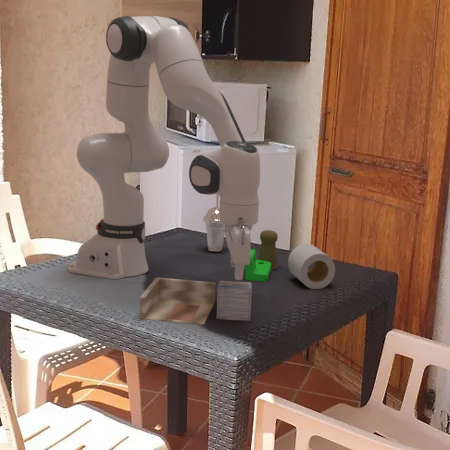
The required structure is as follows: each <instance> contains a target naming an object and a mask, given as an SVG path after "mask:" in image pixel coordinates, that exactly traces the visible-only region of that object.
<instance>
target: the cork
mask: <svg viewBox="0 0 450 450" xmlns="http://www.w3.org/2000/svg"><path fill="white" fill-rule="evenodd" d="M278 237H279V236H278V233H277V232H276V231H274V230H270V229H269V230H262V231H261V232H260V234H259V239H260V241H261V243H260V247H259V249H260V250H259V253H258V258H257V260H262V261H268V262H270V263H271V271H272V270H276V269H277V268H278V262H277V261H278V259H277V247H276V242H277V241H278V239H279V238H278Z"/></svg>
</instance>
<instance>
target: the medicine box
mask: <svg viewBox="0 0 450 450" xmlns="http://www.w3.org/2000/svg"><path fill="white" fill-rule="evenodd" d="M252 289H253V287H252V282H250V281H237V280H235V281H234V280H233V281H231V280H219V281H218V284H217V296H216V297H217V298H216V299H217V300H216V301H217V302H216V319H217V320H228V321H248V322H250V321H251V312H252V311H251V309H252V308H251V307H252Z"/></svg>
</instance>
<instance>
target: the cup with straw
mask: <svg viewBox="0 0 450 450" xmlns="http://www.w3.org/2000/svg"><path fill="white" fill-rule="evenodd" d="M215 201H216V202H215V203H216V204H215V206H214V207H211V208H210V209H208V210H207V212H206V214H205V216H203V218H202V221H203V222H205V223H204V224H205V229H206V239H207V247H208V248H207V250H208V251H210V252H221V251H222V250H223V246H224V242H225V228H224V225H225V224H224V223H221V222H220V221H219V211H220V207H219V203H220V195H219V194H216V200H215Z"/></svg>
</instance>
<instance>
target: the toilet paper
mask: <svg viewBox="0 0 450 450" xmlns="http://www.w3.org/2000/svg"><path fill="white" fill-rule="evenodd" d="M312 264H313V265H312ZM311 265H312V267H311V268H309V267H310V266H311ZM287 266H288V270H289V272H291V274H292V275H293V276H295V278H296V279H298V280H299V281H300V282H301V283H302V284H303V285H304V286H306V287H307V288H309V289H311V290H317V289H319V290H320V289H324V288H326V287H328V285H329V284H330V283H331V282H332V281H333V279H334V277H335V273H336V265H335V262H334V261H333V259H332V258H331V257H330V256H328V255H327V254H326V253H324V252H323V251H322V250H320V249H319V248H318V247H316V246H315V245H313V244H310V243H303V244H299V245H298V246H296V247H294V249H292V251H291V252H290V254H289V255H288V258H287Z"/></svg>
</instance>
